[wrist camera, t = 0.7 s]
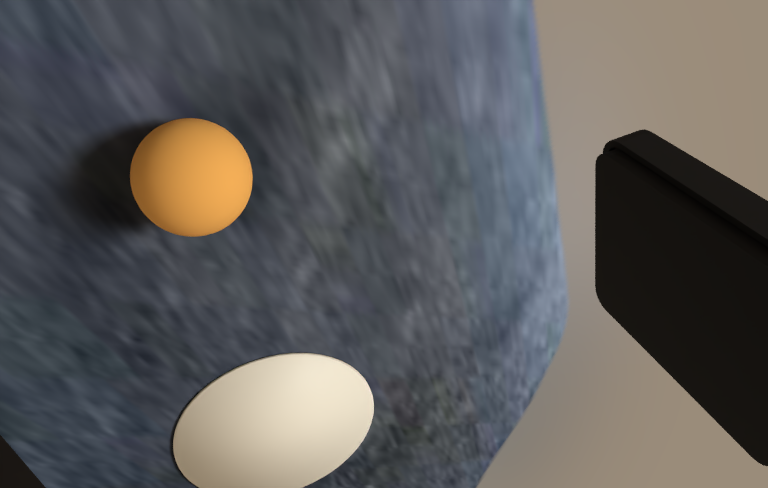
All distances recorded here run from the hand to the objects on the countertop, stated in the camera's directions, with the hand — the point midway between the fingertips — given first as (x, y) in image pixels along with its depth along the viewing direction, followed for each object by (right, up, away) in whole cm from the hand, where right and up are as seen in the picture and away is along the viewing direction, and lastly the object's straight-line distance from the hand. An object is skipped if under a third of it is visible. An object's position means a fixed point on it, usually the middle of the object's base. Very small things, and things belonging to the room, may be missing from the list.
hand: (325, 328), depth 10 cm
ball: (-8, +4, +21) cm, 23 cm away
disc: (-7, -12, +37) cm, 39 cm away
